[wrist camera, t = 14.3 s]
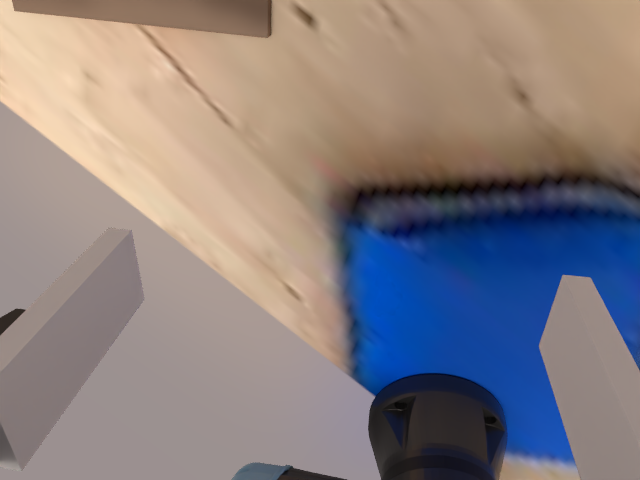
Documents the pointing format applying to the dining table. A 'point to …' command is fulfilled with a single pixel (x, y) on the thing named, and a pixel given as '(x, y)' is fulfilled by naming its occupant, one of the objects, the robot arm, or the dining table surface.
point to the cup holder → (166, 13)
